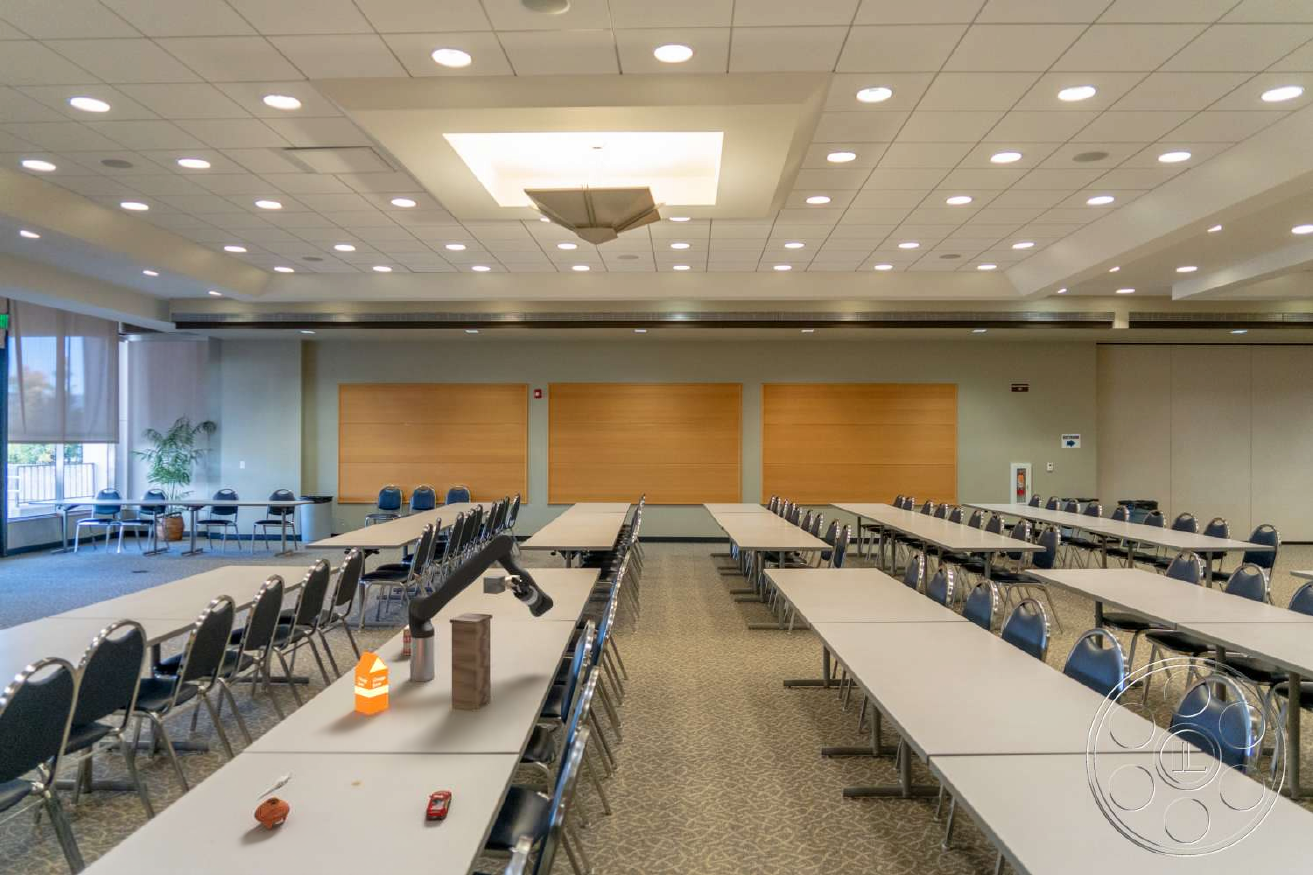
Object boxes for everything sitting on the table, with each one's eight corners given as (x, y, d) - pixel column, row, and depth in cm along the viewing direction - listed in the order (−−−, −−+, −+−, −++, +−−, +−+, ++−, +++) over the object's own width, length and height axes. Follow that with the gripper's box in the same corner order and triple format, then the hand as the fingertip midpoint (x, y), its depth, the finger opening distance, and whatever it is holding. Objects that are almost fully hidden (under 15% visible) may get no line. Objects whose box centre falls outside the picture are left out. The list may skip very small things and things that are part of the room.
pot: (282, 811, 197) (285, 787, 196) (292, 829, 191) (295, 805, 190) (248, 821, 191) (251, 796, 190) (257, 839, 186) (260, 815, 185)
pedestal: (466, 698, 284) (466, 612, 284) (492, 701, 281) (492, 614, 281) (449, 708, 273) (449, 619, 274) (476, 711, 270) (476, 621, 270)
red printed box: (415, 643, 363) (415, 617, 363) (428, 643, 363) (428, 617, 363) (403, 655, 342) (403, 628, 342) (417, 655, 342) (417, 628, 342)
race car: (432, 798, 205) (432, 783, 205) (453, 797, 206) (453, 782, 206) (423, 822, 192) (423, 806, 192) (445, 821, 193) (445, 805, 193)
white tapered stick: (287, 776, 219) (286, 769, 218) (295, 777, 218) (295, 770, 218) (251, 803, 204) (251, 796, 204) (260, 804, 203) (260, 797, 203)
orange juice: (373, 703, 279) (373, 648, 279) (388, 708, 274) (388, 652, 274) (354, 709, 273) (354, 653, 273) (369, 714, 268) (369, 657, 268)
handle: (509, 583, 310) (509, 568, 310) (522, 584, 309) (522, 569, 309) (483, 593, 291) (483, 577, 291) (497, 594, 290) (497, 578, 290)
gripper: (512, 583, 321) (494, 569, 307) (542, 585, 317) (525, 570, 303) (508, 600, 318) (489, 586, 304) (538, 602, 313) (521, 588, 299)
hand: (508, 578), depth 303 cm, fingers closed on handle, 3 cm apart
